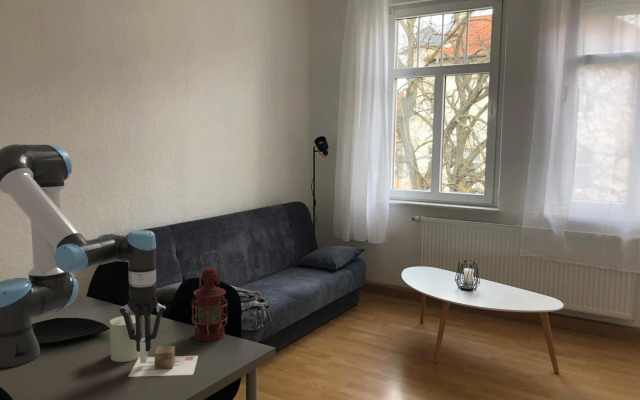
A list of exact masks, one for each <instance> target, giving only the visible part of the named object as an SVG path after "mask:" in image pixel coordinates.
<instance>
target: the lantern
mask: <svg viewBox="0 0 640 400" xmlns="http://www.w3.org/2000/svg"><path fill="white" fill-rule="evenodd" d="M211 253H216V254H217V258H216V261H215V266H216V268H214V267H206V268H204V262H203V260H202V257H203V256H204V255H207V254H211ZM219 255H220V252H219V251H217V250H210V251H206V252H203V253H202V254H201V255H200V261H201V264H202V268H201V271H200V273H199V281H198V282H199V283H198V284H199V285H198V286H199V287H198V288H197V289H195V290H194V291H193V295H194V297H193V299H192V300H191V309H192V311H191V313H192V315H191V321H192V324H193V325H194V327H195V328H194V330H195V332H194V335H193V338H194V339H195V340H196V341H199V342H205V343H206V342H208V343H209V342H215V341H216V342H217V341H220V340H222V338H223V337H224V336H226V333H225V326H226V324H227V323H228V305H229V304H228V300H227V298H226V297H225V295H226V294H227V293H226V292H227V291H226V289H224V288H221V287H220V286H219V285H220V283H221V282H220V281H221V280H220V279H221V278H220V277H221V276H220V275H221V273H220V269H219V267H218V263H217V262H218V259H219ZM216 269H217V270H218V271H217V270H216ZM201 281H202V282H204V286H203V284H202V282H201ZM215 283H216V285H217V286H216V285H215ZM224 303H225V304H224ZM224 308H225V313H224ZM194 310H195V314H194ZM224 317H225V318H224ZM194 318H195V319H194ZM224 322H225V323H224ZM223 323H224V324H223ZM224 338H225V337H224ZM224 338H223V339H224Z"/></svg>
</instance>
